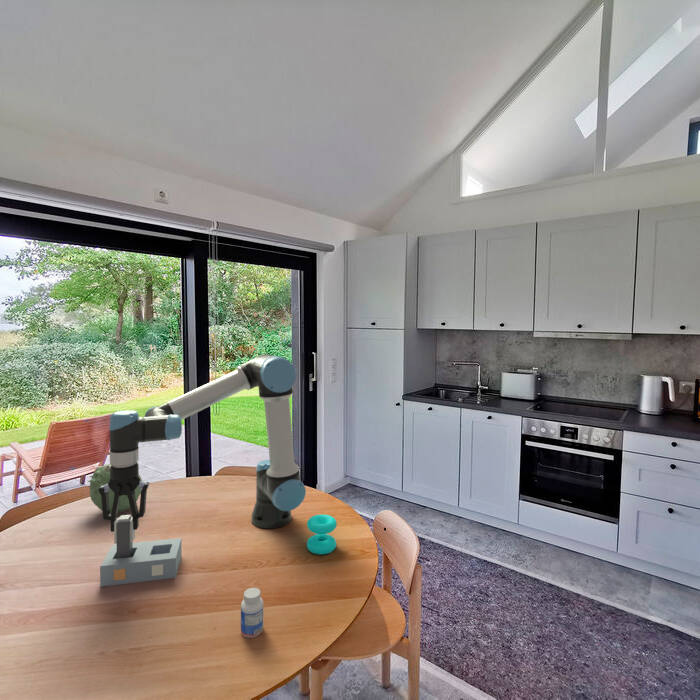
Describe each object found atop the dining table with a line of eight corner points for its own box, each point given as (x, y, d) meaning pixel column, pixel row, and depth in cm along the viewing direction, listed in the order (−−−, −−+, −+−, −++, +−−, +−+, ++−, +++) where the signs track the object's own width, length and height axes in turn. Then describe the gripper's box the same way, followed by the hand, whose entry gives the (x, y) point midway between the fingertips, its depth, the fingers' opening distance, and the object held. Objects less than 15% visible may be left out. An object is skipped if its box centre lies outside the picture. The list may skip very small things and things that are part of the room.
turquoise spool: (301, 519, 142) (322, 510, 149) (300, 548, 142) (322, 537, 150) (321, 529, 135) (342, 519, 142) (320, 559, 136) (342, 548, 143)
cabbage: (150, 509, 169) (150, 460, 168) (99, 526, 154) (98, 473, 153) (132, 499, 179) (132, 452, 178) (82, 514, 164) (82, 463, 163)
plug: (132, 558, 128) (132, 514, 127) (129, 564, 125) (129, 519, 124) (120, 559, 127) (119, 515, 127) (116, 566, 124) (116, 520, 123)
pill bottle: (242, 623, 106) (243, 585, 105) (264, 622, 106) (264, 585, 106) (238, 639, 101) (239, 599, 100) (261, 638, 101) (262, 599, 100)
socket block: (181, 556, 136) (181, 538, 136) (175, 578, 124) (175, 558, 124) (112, 563, 131) (112, 544, 131) (100, 587, 119) (99, 566, 119)
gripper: (157, 458, 130) (157, 531, 131) (97, 461, 126) (97, 537, 127) (152, 466, 123) (152, 544, 124) (88, 469, 119) (89, 550, 120)
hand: (124, 540), depth 126 cm, fingers closed on plug, 3 cm apart
